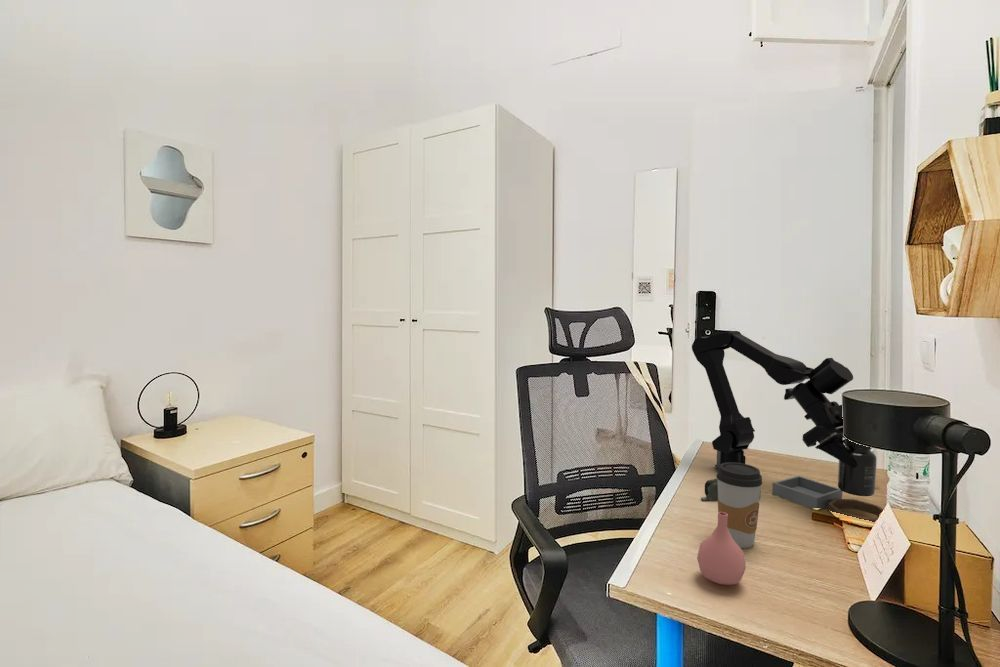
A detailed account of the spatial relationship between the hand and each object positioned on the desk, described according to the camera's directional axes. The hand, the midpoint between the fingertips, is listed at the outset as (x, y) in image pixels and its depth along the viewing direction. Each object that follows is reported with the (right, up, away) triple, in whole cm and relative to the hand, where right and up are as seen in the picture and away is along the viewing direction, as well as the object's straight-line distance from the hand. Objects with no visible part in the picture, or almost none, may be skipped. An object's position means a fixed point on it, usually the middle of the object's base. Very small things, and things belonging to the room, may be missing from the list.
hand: (864, 464), depth 110 cm
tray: (-6, -11, +12) cm, 17 cm away
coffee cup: (-33, -13, -10) cm, 37 cm away
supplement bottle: (-1, -7, +2) cm, 7 cm away
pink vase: (-43, -14, -24) cm, 51 cm away
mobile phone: (-25, -12, +11) cm, 29 cm away
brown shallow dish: (0, -12, +1) cm, 12 cm away
